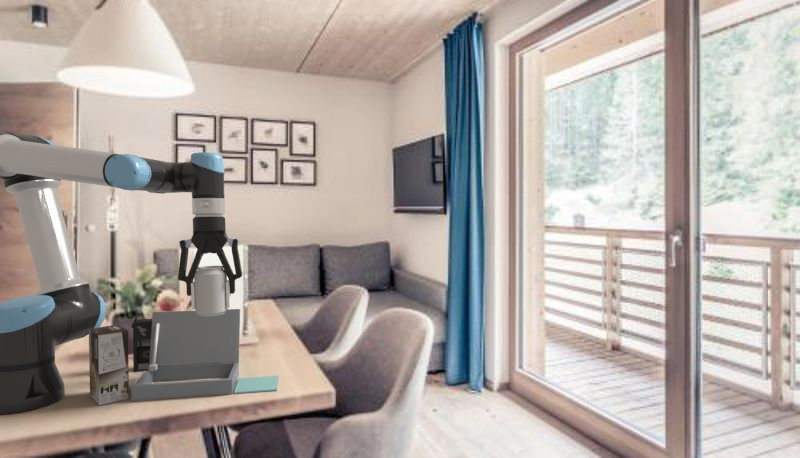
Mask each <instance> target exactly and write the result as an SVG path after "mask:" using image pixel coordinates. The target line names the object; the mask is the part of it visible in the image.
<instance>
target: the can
mask: <svg viewBox="0 0 800 458" xmlns="http://www.w3.org/2000/svg"><path fill="white" fill-rule="evenodd" d="M227 280H228V277H227V274H226V272H225V270H224V268H223V266H222V265H203V266H198V268H197V271H196V273H195V274H194V279H193V282H194V283H195V310H194V311H195V312H196V313H197V314H198V315H199V316H203V317H210V316H218V315H222V314H224V313H225V312H226V311H227V310H228V308H227V307H226V281H227Z"/></svg>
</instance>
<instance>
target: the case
mask: <svg viewBox="0 0 800 458" xmlns="http://www.w3.org/2000/svg"><path fill="white" fill-rule="evenodd" d="M151 319H152V331H151V346H150V362H149V368H148V369H147V370H146V371H144V372H143V374H142V375H140V377H138V379H137V380H136V381H134V383H133V384H132V385H131V402H139V401H140V402H141V401H153V400H168V399H170V400H171V399H182V398H183V399H184V398H196V397H197V398H198V397H208V396H209V397H211V396H222V395H224V396H225V395H232V394H234V391H235V388H236V385H237V382H238V379H239V374H240V365H239V364H240V340H241V339H240V333H241V332H240V331H241V328H240V327H241V309H240V308H236V309H235V308H232V309H230V308H229V309H228V310H227V311H226V312H225V313H224V314H222V315H218V316H210V317H203V316H199V315H198V314H197V313H196V312H195V310H179V311H176V310H175V311H153V312H152V317H151ZM210 363H211V364H210ZM158 366H159V367H158ZM227 377H228V378H227ZM211 378H213V379H211ZM215 378H216V379H215ZM195 379H196V380H195ZM198 379H201V380H198ZM180 380H182V381H180ZM183 380H185V381H183ZM186 380H187V381H186ZM163 381H164V382H163ZM165 381H166V382H165ZM167 381H168V382H167ZM169 381H172V382H169ZM153 382H154V383H153ZM155 382H157V383H155Z"/></svg>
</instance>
